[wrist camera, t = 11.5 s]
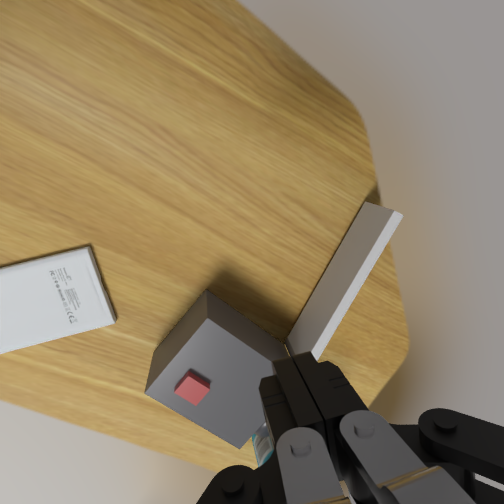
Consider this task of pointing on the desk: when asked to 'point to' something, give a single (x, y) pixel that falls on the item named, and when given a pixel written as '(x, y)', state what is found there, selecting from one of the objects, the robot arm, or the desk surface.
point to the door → (342, 279)
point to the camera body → (215, 370)
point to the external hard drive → (51, 299)
